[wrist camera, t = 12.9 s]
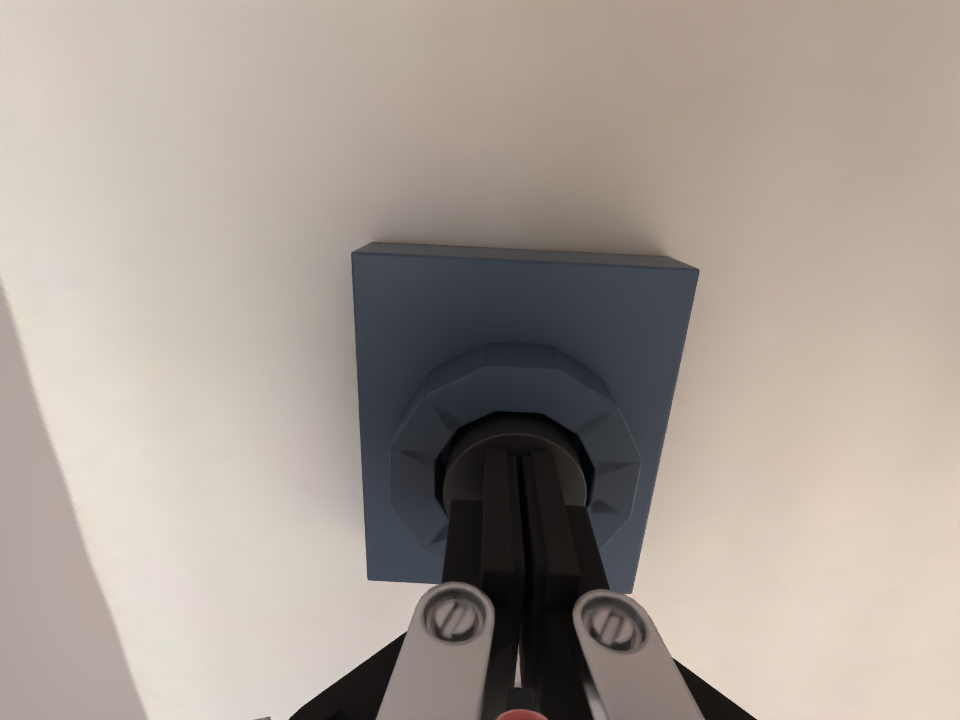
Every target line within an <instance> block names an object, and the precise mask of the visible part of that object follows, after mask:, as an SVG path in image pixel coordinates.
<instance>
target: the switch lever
mask: <svg viewBox="0 0 960 720" xmlns="http://www.w3.org/2000/svg"><path fill="white" fill-rule="evenodd" d="M496 720H548V719H547V718H546V717H545V716H543V715H541V714H539V713H537V712H535V711H531V710H526V709H514V710H510V711H507V712H504V713H502V714H501V715H500V716H499V717H498V718H497V719H496Z"/></svg>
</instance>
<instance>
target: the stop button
mask: <svg viewBox="0 0 960 720" xmlns="http://www.w3.org/2000/svg"><path fill="white" fill-rule="evenodd" d="M485 448H502V449H507V455H515V456H516V467H517V479H518V488H519V477H520V465H521V457H522V455H525V456H529V453H530V450H541V451H552V452H553V455H554V459H555V463H556V468H557V472H558V476H559V481H560V485H561V490H562V494H563V498H564V503H565V505H575V506H584V507H585V502H586V494H587V489H586V482H585V478H584V474H583V471H582V468H581V465H580V462H579V458H578V455H577V452H576V449H575V446H574V443H573V440H572V438H571V435H570V433H569V432H568V430H567V428H565V427H564V426H562V425H560V424H559V423H557V422H555V421H554V420H552V419H550V418H549V417H547V416H545V415H544V414H542V413H526V412H506V411H495V412H493V413H491V414H488V415H486V416H484V417H482V418H479V419H477V420H475V421H473V422H471V423H468V424H466V425H464V426H462V427H460V428H458V429H457V431H456V433H455V434H454V436H453V438H452V441H451V444H450V448H449V453H448V459H447V466H446V472H445V479H444V485H443V501H444V506H445V509H446V512H447V514H448V516H449V518H450V510H451V502H452V499H460V500H479V501H482V499H483V482H484V464H485Z"/></svg>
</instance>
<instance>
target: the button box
mask: <svg viewBox="0 0 960 720" xmlns="http://www.w3.org/2000/svg"><path fill="white" fill-rule="evenodd" d="M351 260H352V280H353V300H354V320H355V340H356V360H357V380H358V400H359V420H360V440H361V460H362V480H363V500H364V520H365V540H366V560H367V578H368V580H370V581H389V582H408V583H428V584H441V583H442V575H443V567H444V558H445V550H446V542H447V534H448V526H449V516H448V514H447V512H446V509H445V506H444V501H443V485H444V479H445V472H446V466H447V459H448V453H449V448H450V444H451V441H452V438H453V436H454V434H455V433H456V431H457V429H458V428H460V427H462V426H464V425H466V424H468V423H471V422H473V421H475V420H477V419H479V418H482V417H484V416H486V415H488V414H491V413H493V412H495V411H506V412H526V413H542V414H544V415H545V416H547V417H549V418H550V419H552V420H554V421H555V422H557V423H559V424H560V425H562V426H564V427H565V428H567V430H568V432H569V433H570V435H571V438H572V440H573V443H574V446H575V449H576V452H577V455H578V458H579V462H580V465H581V468H582V471H583V474H584V478H585V482H586V489H587V494H586V502H585V507H586V510H587V512H588V515H589V519H590V522H591V526H592V529H593V533H594V536H595V539H596V543H597V546H598V550H599V553H600V557H601V560H602V563H603V567H604V570H605V574H606V577H607V581H608V584H609V587H610V590H613V591H616V592H620V593H623V594H631V593H632V591H633V586H634V581H635V576H636V571H637V567H638V562H639V557H640V552H641V548H642V543H643V538H644V533H645V529H646V524H647V519H648V514H649V510H650V505H651V500H652V495H653V491H654V486H655V481H656V476H657V471H658V467H659V462H660V457H661V452H662V448H663V443H664V438H665V433H666V429H667V424H668V419H669V414H670V410H671V405H672V400H673V395H674V390H675V386H676V381H677V376H678V371H679V367H680V362H681V357H682V352H683V348H684V343H685V338H686V333H687V329H688V324H689V319H690V314H691V310H692V305H693V300H694V295H695V290H696V286H697V281H698V276H699V269H697V268H695V267H692V266H690V265H688V264H685V263H683V262H680V261H678V260H676V259H673V258H671V257H665V256H645V255H625V254H604V253H584V252H564V251H544V250H523V249H503V248H483V247H463V246H442V245H422V244H402V243H382V242H372V243H369V244H367V245H365V246H363V247H361V248H359V249H357V250H355V251H353V252H352V254H351Z"/></svg>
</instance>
